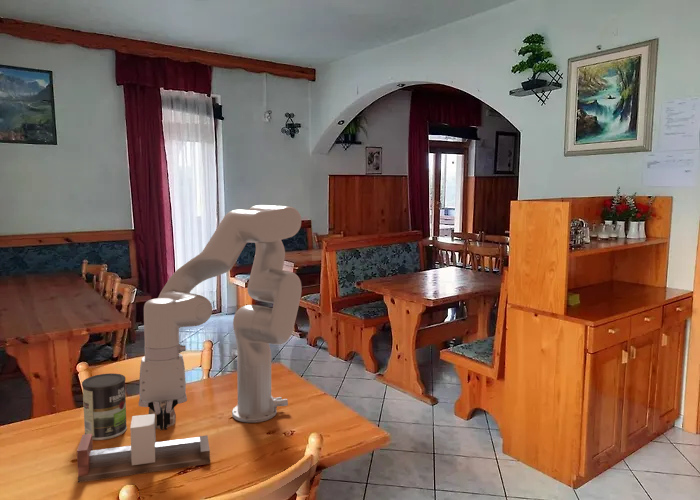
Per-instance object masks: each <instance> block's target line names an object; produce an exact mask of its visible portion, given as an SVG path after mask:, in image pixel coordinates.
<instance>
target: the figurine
mask: <svg viewBox="0 0 700 500" xmlns="http://www.w3.org/2000/svg"><path fill="white" fill-rule="evenodd" d="M166 402H167V401H160V406H161V408H162V410H163V429H164V410H165V407H166ZM148 414H155V429H159V430H160V426H157V414H156V413H155V412H154V411H153V410H151V409H150V408H149V407H148ZM176 416H177V415H176V410H175V407H174V408H173V409H172V410H171V412H170V424H169V425H167V428H170V427H172V426H174V425H175V424H176V421H177V420H176V419H177V417H176Z"/></svg>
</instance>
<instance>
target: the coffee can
mask: <svg viewBox="0 0 700 500" xmlns="http://www.w3.org/2000/svg"><path fill="white" fill-rule="evenodd" d="M81 386H82V401H83V402H82V403H83V420H84V421H83V424H84V425H83V426H84V434H92V440H93V441H106V440H109V439H113V438H117V437H119V436H121V435H123V434H124V433H125V432H126V431H127V430H128V426H127V402H126V401H127V400H126V376H125V375H123V374H120V373H114V372H113V373H101V374H95V375H92V376H90V377H88V378H85V379H84V380H83V381H82V382H81Z"/></svg>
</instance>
